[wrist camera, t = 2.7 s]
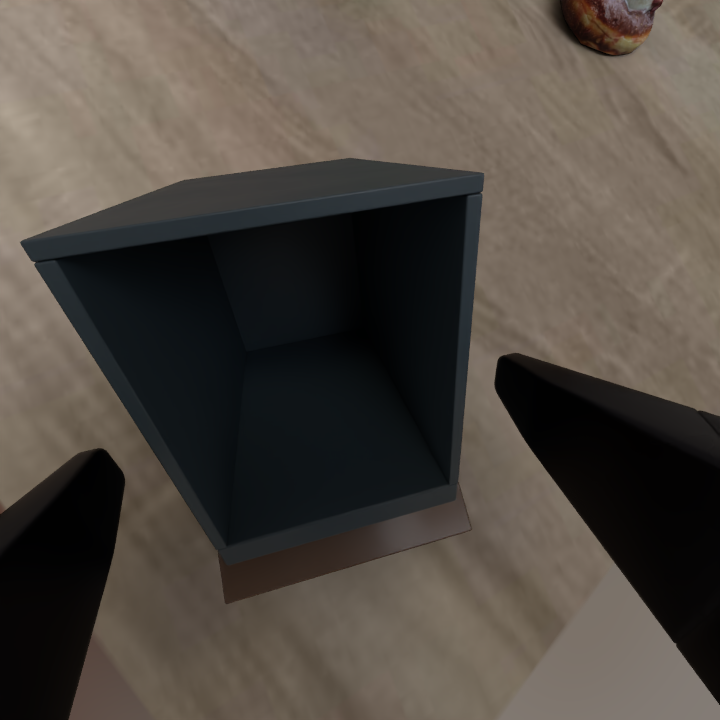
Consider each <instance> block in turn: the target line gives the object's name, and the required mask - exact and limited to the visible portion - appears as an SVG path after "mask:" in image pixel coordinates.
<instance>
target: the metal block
mask: <svg viewBox="0 0 720 720" xmlns="http://www.w3.org/2000/svg"><path fill="white" fill-rule="evenodd" d="M471 530H472V528H471V524H470V521H469V517H468V514H467V510H466V506H465V503H464V499H463V496H462V492H461V489H460V485H459V482H458V483H457V495H456V500H455V501H452V502H449V503H445V504H442V505H438V506H435V507H431V508H428V509H424V510H421V511H417V512H414V513H410V514H407V515H403V516H400V517H396V518H393V519H389V520H386V521H382V522H379V523H375V524H372V525H368V526H365V527H361V528H358V529H354V530H351V531H347V532H344V533H340V534H337V535H333V536H330V537H326V538H323V539H319V540H316V541H312V542H309V543H305V544H302V545H298V546H295V547H291V548H288V549H284V550H281V551H277V552H274V553H270V554H267V555H263V556H260V557H256V558H253V559H249V560H246V561H242V562H239V563H235V564H232V565H226V563H225V562H224V560H223V559H222V557H221V555H220V554H219V552H218V557H219V564H220V571H221V578H222V585H223V592H224V599H225V603H226V604H229V603H232V602H235V601H239V600H242V599H245V598H249V597H252V596H255V595H259V594H262V593H265V592H269V591H272V590H275V589H278V588H282V587H285V586H288V585H292V584H295V583H298V582H302V581H305V580H308V579H312V578H315V577H318V576H322V575H325V574H328V573H332V572H335V571H338V570H342V569H345V568H348V567H352V566H355V565H358V564H361V563H365V562H368V561H371V560H375V559H378V558H381V557H385V556H388V555H391V554H395V553H398V552H401V551H405V550H408V549H411V548H415V547H418V546H421V545H425V544H428V543H431V542H435V541H438V540H441V539H444V538H448V537H451V536H454V535H458V534H461V533H464V532H468V531H471Z"/></svg>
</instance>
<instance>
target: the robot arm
mask: <svg viewBox="0 0 720 720" xmlns="http://www.w3.org/2000/svg"><path fill="white" fill-rule="evenodd" d="M494 385H495V390H496V392H497V394H498V396H499V398H500V399H501V401H502V403H503V404H504V406H505V408H506V409H507V411H508V413H509V415H510V416H511V418H512V420H513V421H514V423H515V425H516V427H517V428H518V430H519V432H520V433H521V435H522V437H523V438H524V440H525V441H526V443H527V444H528V446H529V447H530V449H531V450H532V451H533V453H534V454H535V455H536V457H537V458H538V459H539V461H540V462H541V464H542V465H543V466H544V468H545V469H546V470H547V472H548V473H549V474H550V476H551V477H552V478H553V480H554V481H555V482H556V484H557V485H558V487H559V488H560V489H561V491H562V492H563V493H564V495H565V496H566V497H567V499H568V500H569V501H570V503H571V504H572V505H573V507H574V508H575V509H576V511H577V512H578V514H579V515H580V516H581V518H582V519H583V520H584V522H585V523H586V524H587V526H588V527H589V528H590V530H591V531H592V532H593V534H594V535H595V537H596V538H597V539H598V541H599V542H600V543H601V545H602V546H603V547H604V549H605V550H606V551H607V553H608V554H609V555H610V557H611V558H612V560H613V561H614V562H615V564H616V565H617V566H618V568H619V569H620V570H621V572H622V573H623V574H624V575H625V577H626V578H627V580H628V581H629V582H630V584H631V585H632V587H633V588H634V589H635V590H636V592H637V593H638V594H639V596H640V597H641V599H642V600H643V601H644V603H645V604H646V605H647V607H648V608H649V609H650V611H651V612H652V614H653V615H654V616H655V618H656V619H657V620H658V622H659V623H660V624H661V626H662V627H663V628H664V630H665V631H666V633H667V634H668V635H669V636H670V638H671V639H672V641H673V642H674V643H676V646H677V648H678V649H679V650H680V652H681V653H682V655H683V656H684V657H685V658H686V660H687V661H688V663H689V664H690V665H691V667H692V668H693V669H694V671H695V672H696V674H697V675H698V676H699V678H700V679H701V680H702V682H703V683H704V684H705V686H706V687H707V688H708V690H709V691H710V692H711V694H712V695H713V697H714V698H715V699H716V701H717V702H718V703H719V705H720V416H716V415H713V414H710V413H707V412H704V411H697V410H696V409H694V408H691V407H688V406H684V405H681V404H678V403H675V402H672V401H669V400H665V399H662V398H659V397H656V396H653V395H649V394H646V393H643V392H640V391H637V390H633V389H630V388H627V387H624V386H621V385H618V384H614V383H611V382H608V381H605V380H602V379H598V378H595V377H592V376H589V375H586V374H583V373H579V372H576V371H573V370H570V369H567V368H563V367H560V366H557V365H554V364H551V363H547V362H544V361H541V360H538V359H535V358H532V357H528V356H525V355H522V354H519V353H512V354H507V355H503V356H501V357H500V358H499V359H498V362H497V368H496V375H495V382H494ZM124 487H125V477H124V474H123V472H122V470H121V469H120V468H119V466H118V465H117V464H116V462H115V461H114V460H113V459H112V457H111V456H110V455H109V453H108V452H107V451H106V450H104V449H102V448H97V449H93V450H88V451H84V452H81V453H78V454H77V455H75V456H74V457H73V458H71V459H70V460H69V461H68V462H66V463H65V464H64V465H63V466H61V467H60V468H59V469H57V470H56V471H55V472H54V473H52V474H51V475H50V476H49V477H47V478H46V479H45V480H43V481H42V482H41V483H40V484H38V485H37V486H36V487H35V488H33V489H32V490H31V491H30V492H28V493H27V494H26V495H24V496H23V497H22V498H21V499H19V500H18V501H17V502H16V503H14V504H13V505H12V506H10V507H9V508H8V509H7V510H5V511H4V512H3V513H2V514H0V720H68V719H69V716H70V712H71V708H72V705H73V701H74V697H75V694H76V690H77V687H78V683H79V679H80V676H81V672H82V668H83V665H84V661H85V657H86V654H87V650H88V646H89V643H90V639H91V635H92V632H93V628H94V624H95V621H96V617H97V614H98V610H99V606H100V603H101V599H102V595H103V592H104V588H105V584H106V581H107V577H108V573H109V570H110V566H111V562H112V558H113V554H114V549H115V543H116V537H117V531H118V525H119V519H120V512H121V506H122V500H123V494H124Z"/></svg>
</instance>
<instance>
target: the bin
mask: <svg viewBox="0 0 720 720" xmlns="http://www.w3.org/2000/svg"><path fill="white" fill-rule="evenodd" d="M483 183H484V173H480V172H471V171H462V170H453V169H444V168H435V167H426V166H417V165H408V164H399V163H390V162H381V161H372V160H363V159H354V158H346V159H339V160H331V161H324V162H316V163H309V164H301V165H294V166H286V167H279V168H271V169H264V170H256V171H249V172H241V173H234V174H226V175H219V176H211V177H204V178H196V179H189V180H183V181H180V182H177V183H174V184H172V185H169V186H166V187H164V188H161V189H158V190H156V191H153V192H150V193H148V194H145V195H142V196H140V197H137V198H134V199H132V200H129V201H126V202H123V203H121V204H118V205H115V206H113V207H110V208H107V209H105V210H102V211H99V212H97V213H94V214H91V215H89V216H86V217H83V218H81V219H78V220H75V221H73V222H70V223H67V224H65V225H62V226H59V227H57V228H54V229H51V230H49V231H46V232H43V233H41V234H38V235H35V236H33V237H30V238H27V239H25V240H22V241H21V242H20V243H21V245H22V247H23V248H24V250H25V251H26V253H27V255H28V256H29V258H30V259H31V261H33V262H36V263H35V264H34V265H35V267H36V269H37V270H38V272H39V273H40V275H41V276H42V278H43V280H44V281H45V283H46V284H47V286H48V287H49V289H50V291H51V292H52V294H53V295H54V297H55V298H56V300H57V302H58V303H59V305H60V306H61V308H62V309H63V311H64V312H65V314H66V316H67V317H68V319H69V320H70V322H71V323H72V325H73V327H74V328H75V330H76V331H77V333H78V334H79V336H80V338H81V339H82V341H83V342H84V344H85V345H86V347H87V348H88V350H89V352H90V353H91V355H92V356H93V358H94V359H95V361H96V363H97V364H98V366H99V367H100V369H101V370H102V372H103V373H104V375H105V377H106V378H107V380H108V381H109V383H110V384H111V386H112V388H113V389H114V391H115V392H116V394H117V395H118V397H119V399H120V400H121V402H122V403H123V405H124V406H125V408H126V409H127V411H128V413H129V414H130V416H131V417H132V419H133V420H134V422H135V424H136V425H137V427H138V428H139V430H140V431H141V433H142V435H143V436H144V438H145V439H146V441H147V442H148V444H149V445H150V447H151V449H152V450H153V452H154V453H155V455H156V456H157V458H158V460H159V461H160V463H161V464H162V466H163V467H164V469H165V471H166V472H167V474H168V475H169V477H170V478H171V480H172V481H173V483H174V485H175V486H176V488H177V489H178V491H179V492H180V494H181V496H182V497H183V499H184V500H185V502H186V503H187V505H188V507H189V508H190V510H191V511H192V513H193V514H194V516H195V517H196V519H197V521H198V522H199V524H200V525H201V527H202V528H203V530H204V532H205V533H206V535H207V536H208V538H209V539H210V541H211V543H212V544H213V546H214V547H215V549H216V550H218V552H219V554H220V555H221V557H222V559H223V560H224V562H225V563H226V565H232V564H235V563H239V562H242V561H246V560H249V559H253V558H256V557H260V556H263V555H267V554H270V553H274V552H277V551H281V550H284V549H288V548H291V547H295V546H298V545H302V544H305V543H309V542H312V541H316V540H319V539H323V538H326V537H330V536H333V535H337V534H340V533H344V532H347V531H351V530H354V529H358V528H361V527H365V526H368V525H372V524H375V523H379V522H382V521H386V520H389V519H393V518H396V517H400V516H403V515H407V514H410V513H414V512H417V511H421V510H424V509H428V508H431V507H435V506H438V505H442V504H445V503H449V502H452V501H455V500H456V495H457V483H458V477H459V465H460V454H461V442H462V430H463V418H464V407H465V395H466V383H467V371H468V359H469V348H470V336H471V324H472V312H473V300H474V289H475V277H476V265H477V253H478V242H479V230H480V218H481V206H482V194H481V192H482V191H483Z"/></svg>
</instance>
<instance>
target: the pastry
mask: <svg viewBox="0 0 720 720" xmlns="http://www.w3.org/2000/svg"><path fill="white" fill-rule="evenodd" d="M560 2H561V6H562V11H563V15H564V18H565V20H566V22H567V24H568V26H569V27H570V28H571V30H572V31H573V33H574V34H575V36H576V37H577V38H578V40H579V41H580V43H581V44H584V45H586V46H589V47H591V48H594V49H596V50H599V51H602V52H604V53H608V54H612V55H620V54H626V53H631V52H632V51H633V50H635V49H636V48H637V47H638V46H639V45H641V44H642V43H643V42H644V41H645V40H646V39H647V37H648V35H649V33H650V31H651V28H652V25H653V20H654V14H655V10H656V9H658V8H659V7H660V6H661V4H662V2H663V0H560Z"/></svg>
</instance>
